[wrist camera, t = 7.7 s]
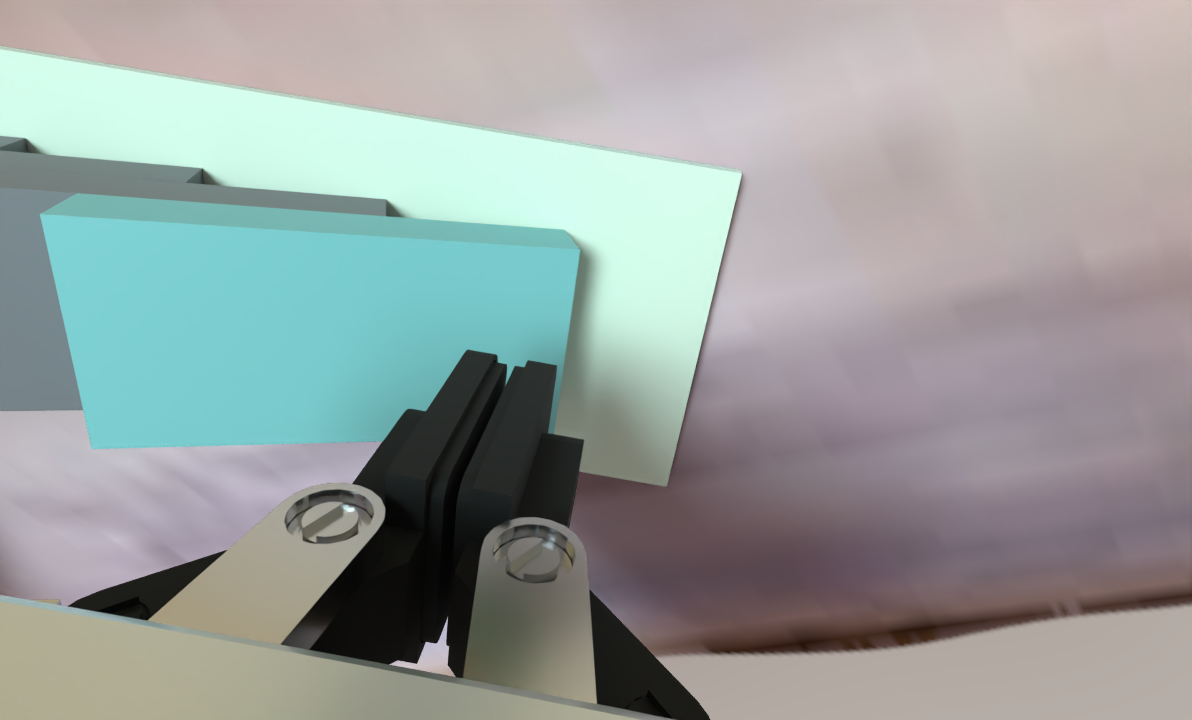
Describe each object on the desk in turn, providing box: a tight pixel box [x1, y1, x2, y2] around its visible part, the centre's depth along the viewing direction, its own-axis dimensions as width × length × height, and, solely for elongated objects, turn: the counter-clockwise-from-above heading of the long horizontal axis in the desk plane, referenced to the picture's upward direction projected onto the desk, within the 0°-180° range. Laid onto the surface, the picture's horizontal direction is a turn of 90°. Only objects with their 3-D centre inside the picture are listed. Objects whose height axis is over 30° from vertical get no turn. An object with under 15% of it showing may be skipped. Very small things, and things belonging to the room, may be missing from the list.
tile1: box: [40, 193, 580, 449], centre depth 15 cm, size 2×5×10 cm
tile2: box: [0, 167, 386, 411], centre depth 15 cm, size 2×5×10 cm
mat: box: [0, 46, 742, 487], centre depth 17 cm, size 28×9×1 cm, turn 82°
